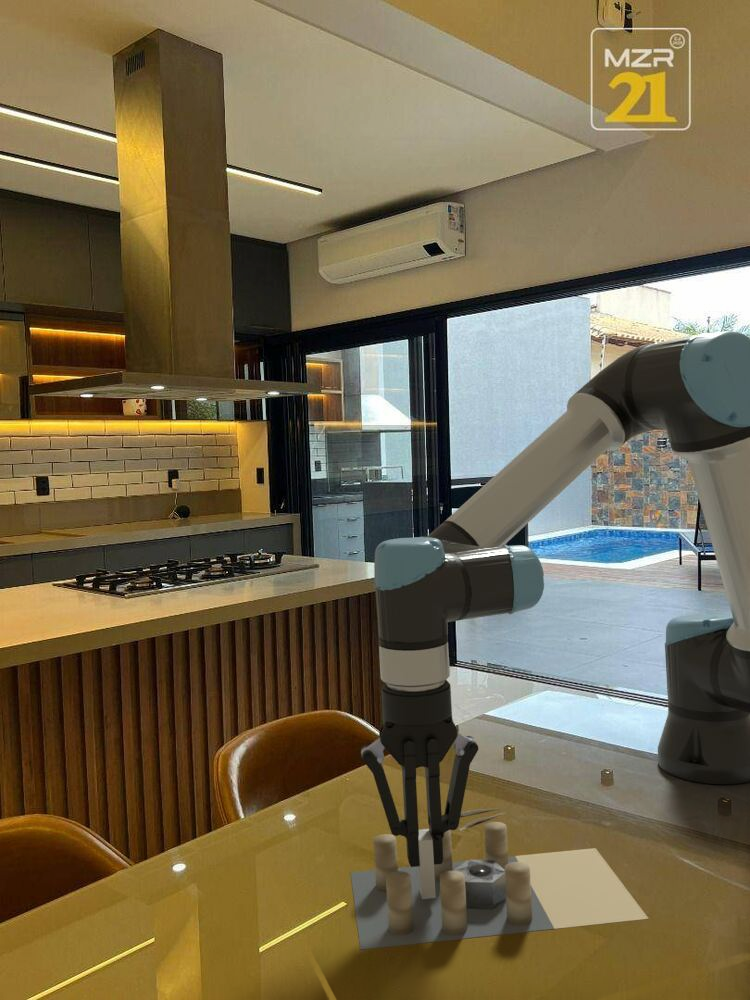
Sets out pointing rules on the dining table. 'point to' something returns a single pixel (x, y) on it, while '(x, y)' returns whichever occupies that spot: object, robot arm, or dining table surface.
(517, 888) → the pegs
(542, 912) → the mat
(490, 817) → the metal tweezers
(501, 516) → the robot arm
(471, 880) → the nut
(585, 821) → the dining table surface
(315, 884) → the dining table surface
